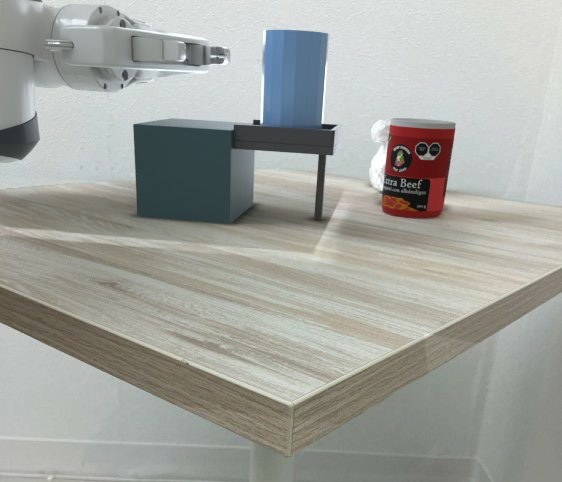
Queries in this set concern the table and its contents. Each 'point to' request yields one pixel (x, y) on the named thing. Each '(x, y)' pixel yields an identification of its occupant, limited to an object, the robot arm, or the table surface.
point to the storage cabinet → (215, 165)
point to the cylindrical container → (293, 78)
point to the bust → (379, 153)
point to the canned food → (417, 167)
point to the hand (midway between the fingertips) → (206, 53)
